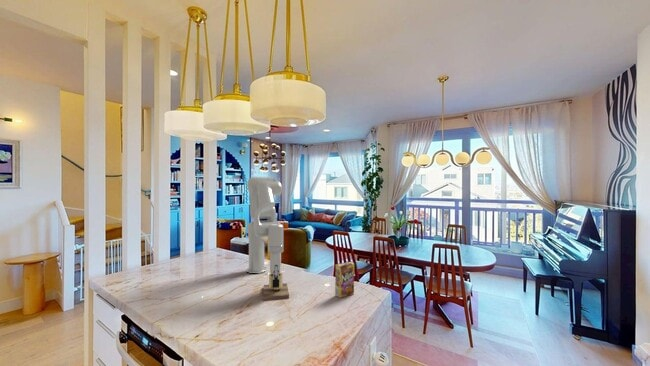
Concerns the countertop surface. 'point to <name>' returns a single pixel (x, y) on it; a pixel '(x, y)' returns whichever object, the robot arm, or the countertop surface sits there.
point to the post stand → (275, 293)
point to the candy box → (344, 279)
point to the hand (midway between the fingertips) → (275, 284)
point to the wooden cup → (272, 281)
